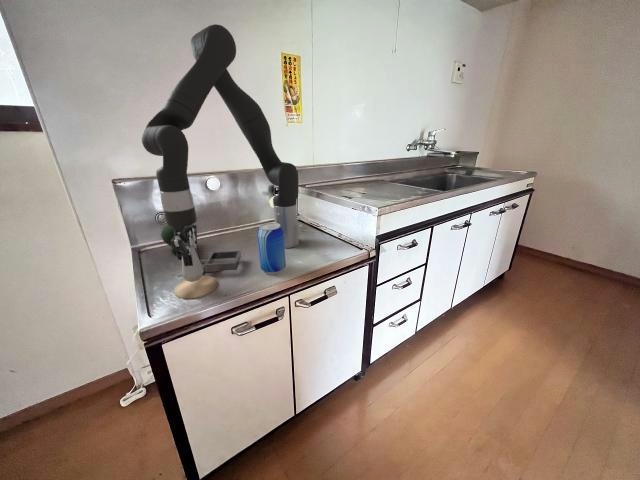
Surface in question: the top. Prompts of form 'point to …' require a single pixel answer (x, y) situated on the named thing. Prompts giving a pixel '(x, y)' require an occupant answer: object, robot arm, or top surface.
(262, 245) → the beer can
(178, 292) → the disc
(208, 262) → the ring stand
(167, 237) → the toy figurine
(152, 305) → the top surface
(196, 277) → the salt shaker
